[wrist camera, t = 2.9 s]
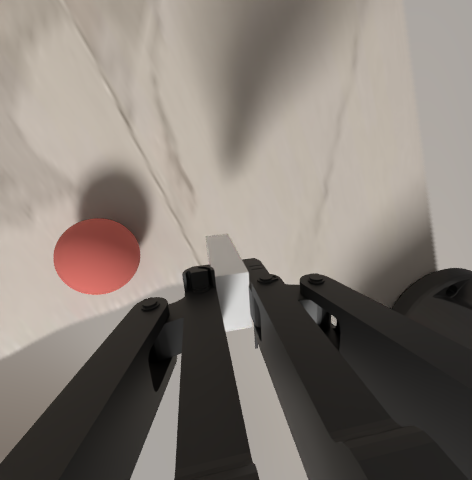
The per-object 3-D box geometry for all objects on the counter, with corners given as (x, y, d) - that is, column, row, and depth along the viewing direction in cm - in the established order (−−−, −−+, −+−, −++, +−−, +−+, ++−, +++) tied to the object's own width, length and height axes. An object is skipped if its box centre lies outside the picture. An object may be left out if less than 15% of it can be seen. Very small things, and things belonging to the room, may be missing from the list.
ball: (154, 226, 23) (141, 244, 17) (135, 284, 24) (116, 318, 18) (86, 202, 22) (46, 213, 16) (68, 264, 23) (25, 295, 17)
